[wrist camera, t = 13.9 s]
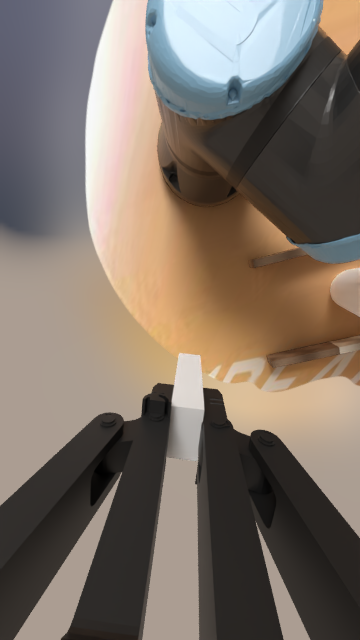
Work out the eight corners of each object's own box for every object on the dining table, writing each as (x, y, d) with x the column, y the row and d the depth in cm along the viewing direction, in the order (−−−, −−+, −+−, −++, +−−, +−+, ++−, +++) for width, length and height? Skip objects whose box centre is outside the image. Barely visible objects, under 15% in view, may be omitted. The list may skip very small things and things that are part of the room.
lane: (267, 361, 45) (273, 367, 42) (248, 260, 41) (253, 260, 38) (433, 326, 42) (451, 331, 39) (429, 214, 38) (449, 210, 35)
